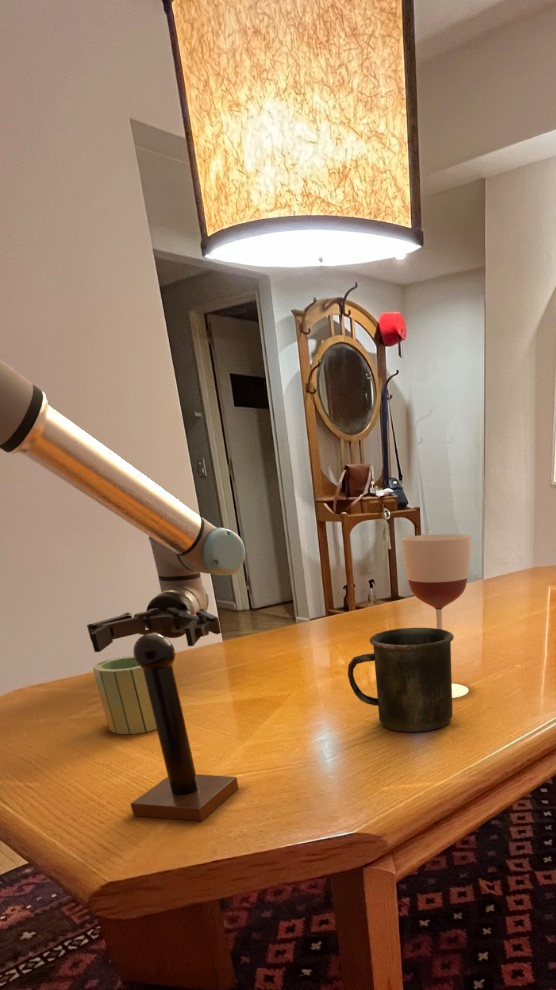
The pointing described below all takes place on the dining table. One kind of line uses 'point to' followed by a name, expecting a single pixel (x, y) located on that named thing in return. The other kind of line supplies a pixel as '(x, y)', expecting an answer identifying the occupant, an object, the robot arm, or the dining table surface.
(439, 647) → the mug
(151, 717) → the ribbed green pot
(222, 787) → the post stand
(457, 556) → the wineglass
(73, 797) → the dining table surface
